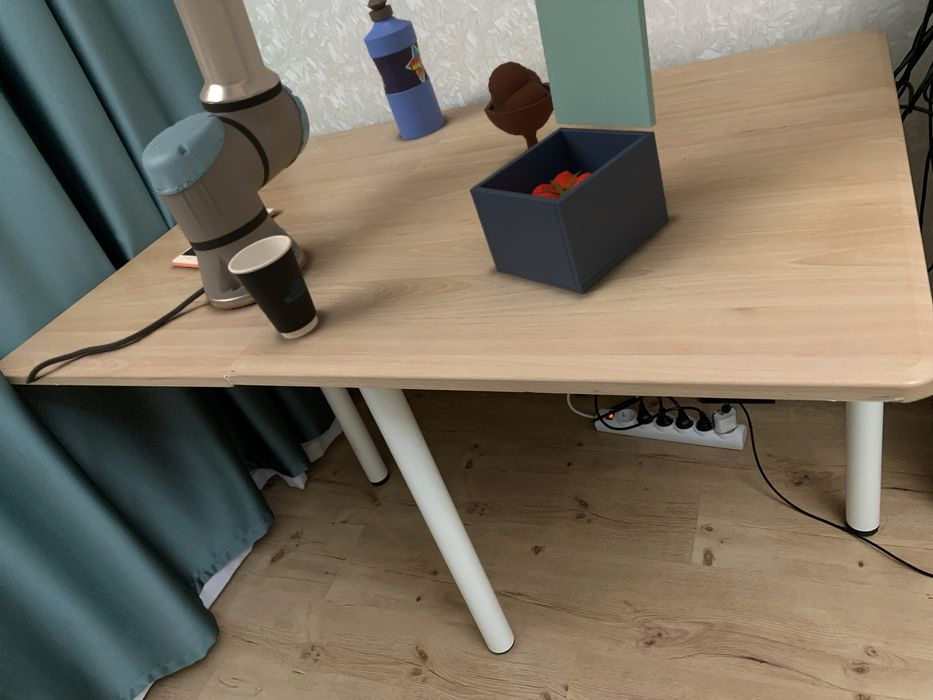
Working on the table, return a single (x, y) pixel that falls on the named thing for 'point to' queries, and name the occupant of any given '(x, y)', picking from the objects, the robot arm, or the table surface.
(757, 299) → the table surface
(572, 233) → the chest
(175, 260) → the cell phone
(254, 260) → the dixie cup
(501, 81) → the ice cream bowl
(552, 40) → the chest lid
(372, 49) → the water bottle
